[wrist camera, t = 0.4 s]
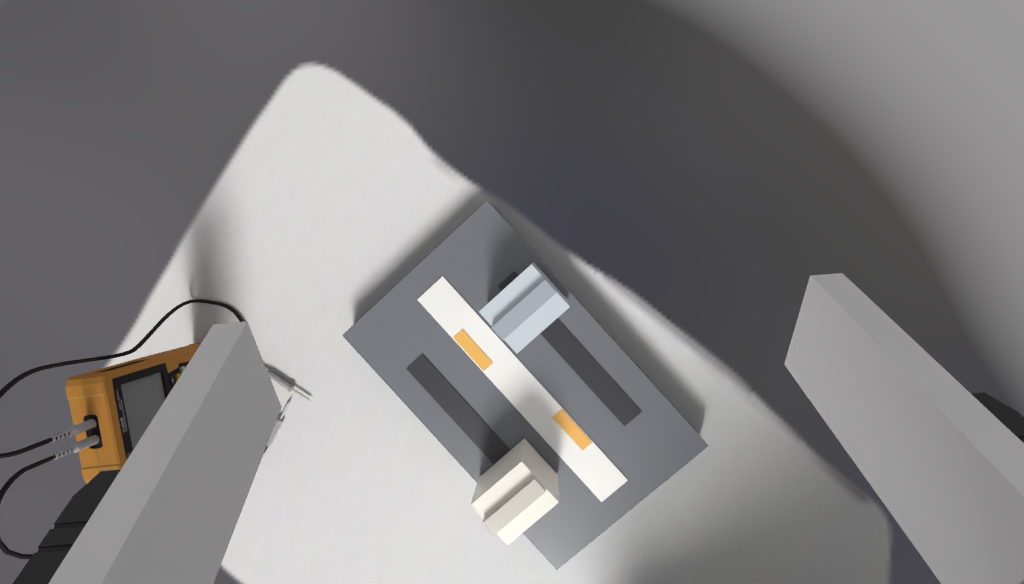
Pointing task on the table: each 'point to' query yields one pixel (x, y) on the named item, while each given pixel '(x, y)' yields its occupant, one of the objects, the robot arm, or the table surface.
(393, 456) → the table surface
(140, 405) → the multimeter
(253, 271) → the table surface
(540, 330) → the cube with side tab
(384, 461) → the table surface
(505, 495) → the cream tab
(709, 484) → the table surface
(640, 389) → the switch board
